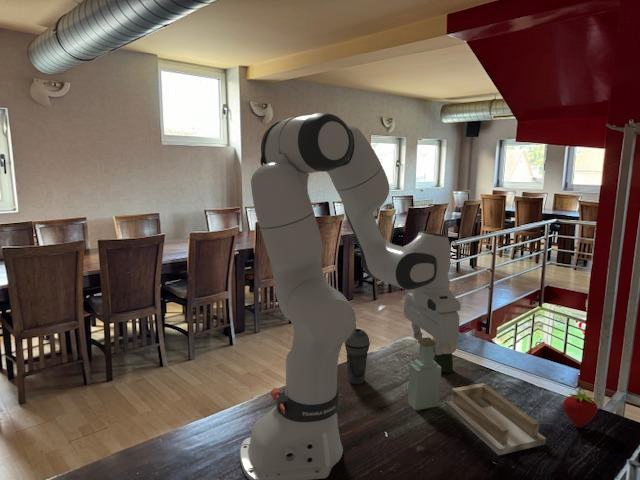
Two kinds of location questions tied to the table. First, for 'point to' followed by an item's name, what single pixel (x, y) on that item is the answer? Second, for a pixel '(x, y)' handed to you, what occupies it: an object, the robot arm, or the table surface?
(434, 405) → the pale green flat bottle
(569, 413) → the strawberry
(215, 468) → the table surface
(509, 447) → the u rest
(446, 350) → the character mug
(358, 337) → the beverage cup
